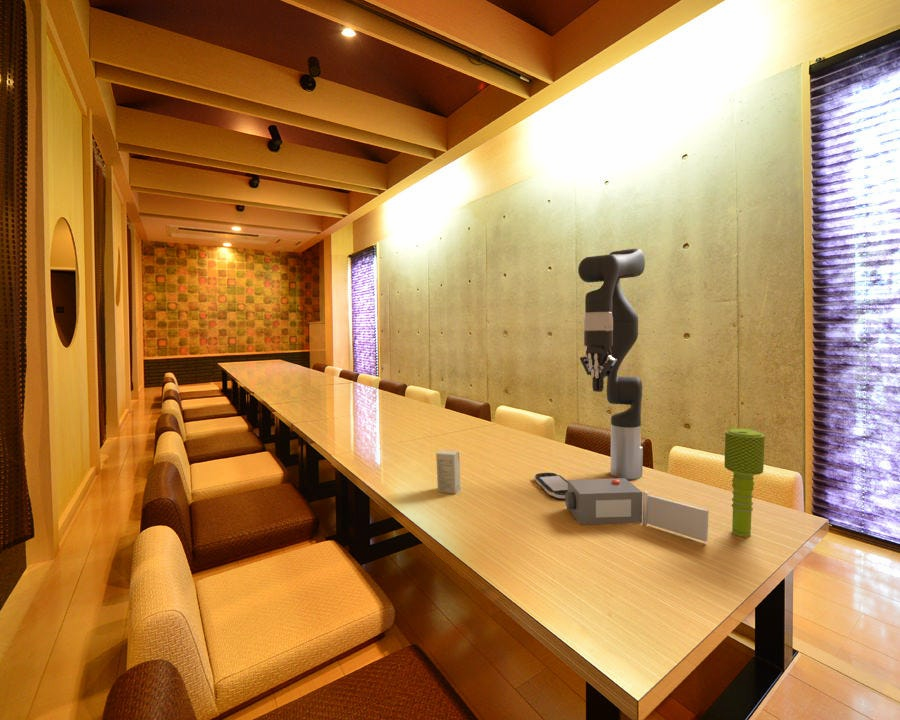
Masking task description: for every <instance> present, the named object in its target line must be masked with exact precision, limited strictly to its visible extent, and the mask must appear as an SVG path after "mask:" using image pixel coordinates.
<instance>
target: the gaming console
mask: <svg viewBox="0 0 900 720" xmlns="http://www.w3.org/2000/svg"><path fill="white" fill-rule="evenodd" d="M534 481H535V482H536V483H537V485H539V486H540V488H542V490H543V491H544V492H545V493H546V494H548V495H549V496H550V497H551V498H554V499H556V500H559V501H565V494H566V492H568V480H566V478H564V476H561V474H557V473H555V472H540V473H536V474H534Z"/></svg>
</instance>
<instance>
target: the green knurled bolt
mask: <svg viewBox="0 0 900 720" xmlns="http://www.w3.org/2000/svg"><path fill="white" fill-rule="evenodd" d="M724 435H725V437H724V462H723V463H724V464H723V465H724V468H725V469H726V470H728V471H729V472H732V474H733V475H732V480H731V483H732V484H731V486H732V489H733V491H732V492H731V493H732V495H733V497H732V498H731V501H732V503H731V507H732V518H731V519H732V522H731V524H732V525H731V527H732V529H731V532H732V533H733V534H734V535H736V536H739V537H742V538H743V537H744V538H749V537H751V534H752V532H751V530H752V512H753V510H754V508H753V504H754V502H753V499H752V498H753V497H754V495H753V491H754V489H755V487H754V486H755V482H754V479H755V478H754V476H758V475H761V474H763V473H764V464H765V463H764V461H765V436H766V435H765V434H764V433H762V432H760V431H757V430H754V429H748V428H731V429H728V430H725V433H724Z"/></svg>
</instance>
